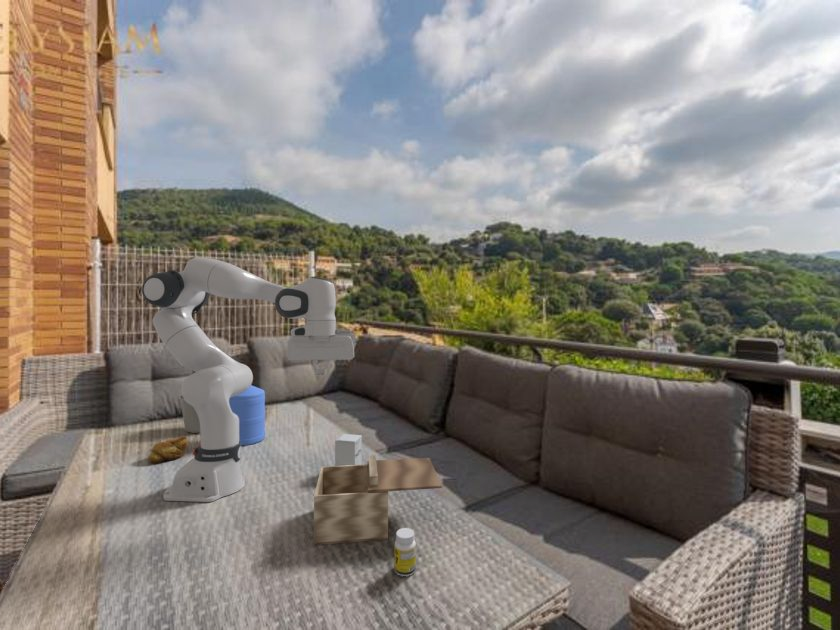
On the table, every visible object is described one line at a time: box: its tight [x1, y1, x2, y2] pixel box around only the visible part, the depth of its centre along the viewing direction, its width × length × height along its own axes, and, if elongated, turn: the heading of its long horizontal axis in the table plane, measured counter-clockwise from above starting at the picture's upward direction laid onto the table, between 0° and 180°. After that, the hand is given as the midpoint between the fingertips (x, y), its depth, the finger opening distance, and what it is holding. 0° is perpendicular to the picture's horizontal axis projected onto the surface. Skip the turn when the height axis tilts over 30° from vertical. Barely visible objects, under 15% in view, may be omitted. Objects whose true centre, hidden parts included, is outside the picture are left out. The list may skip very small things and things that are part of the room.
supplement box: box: [334, 433, 363, 466], centre depth 138 cm, size 7×7×13 cm
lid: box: [366, 455, 443, 493], centre depth 108 cm, size 19×19×3 cm
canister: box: [178, 394, 200, 434], centre depth 184 cm, size 18×18×21 cm
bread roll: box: [147, 436, 189, 464], centre depth 150 cm, size 13×10×8 cm
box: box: [313, 463, 389, 546], centre depth 107 cm, size 18×18×12 cm
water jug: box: [229, 384, 266, 447], centre depth 171 cm, size 16×16×28 cm
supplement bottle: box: [393, 527, 417, 577], centre depth 88 cm, size 5×5×8 cm
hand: (321, 374), depth 122 cm, fingers closed
